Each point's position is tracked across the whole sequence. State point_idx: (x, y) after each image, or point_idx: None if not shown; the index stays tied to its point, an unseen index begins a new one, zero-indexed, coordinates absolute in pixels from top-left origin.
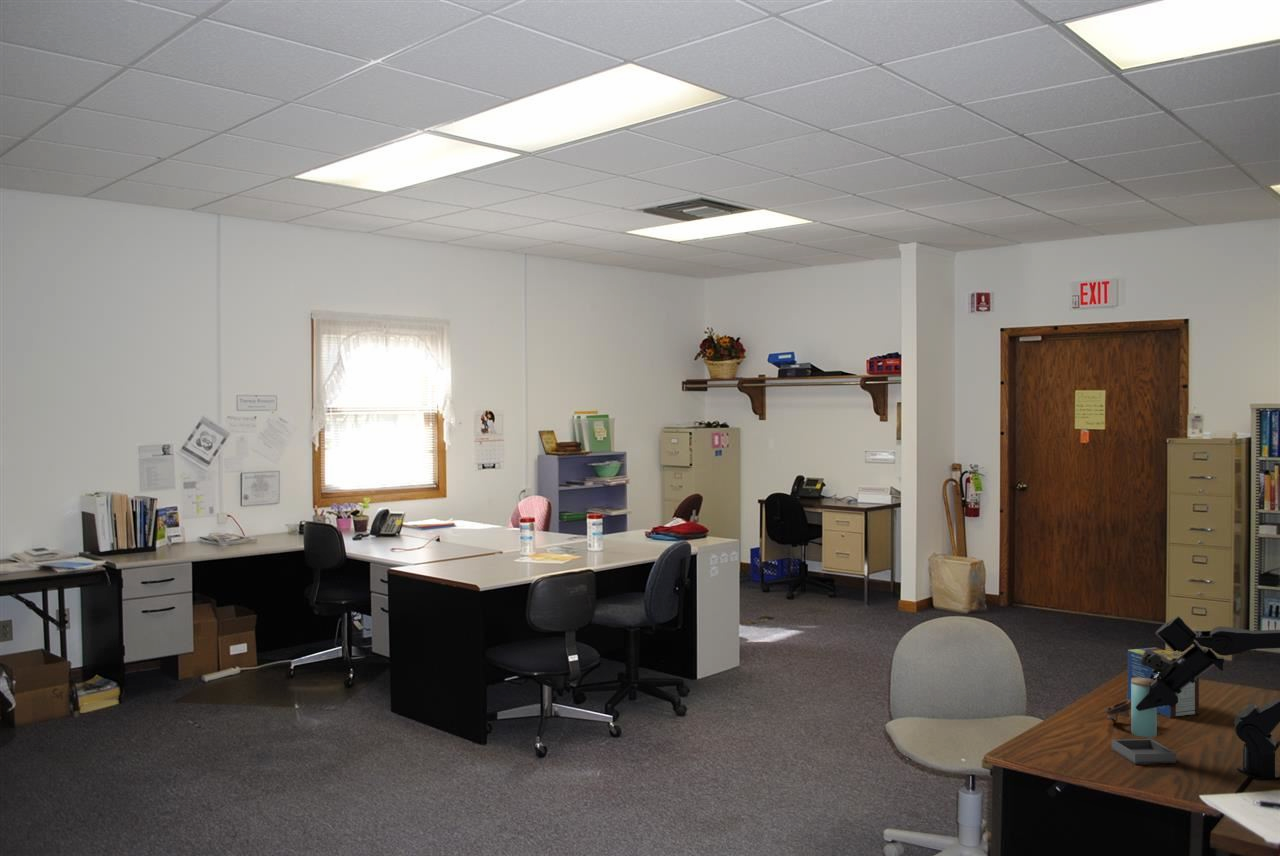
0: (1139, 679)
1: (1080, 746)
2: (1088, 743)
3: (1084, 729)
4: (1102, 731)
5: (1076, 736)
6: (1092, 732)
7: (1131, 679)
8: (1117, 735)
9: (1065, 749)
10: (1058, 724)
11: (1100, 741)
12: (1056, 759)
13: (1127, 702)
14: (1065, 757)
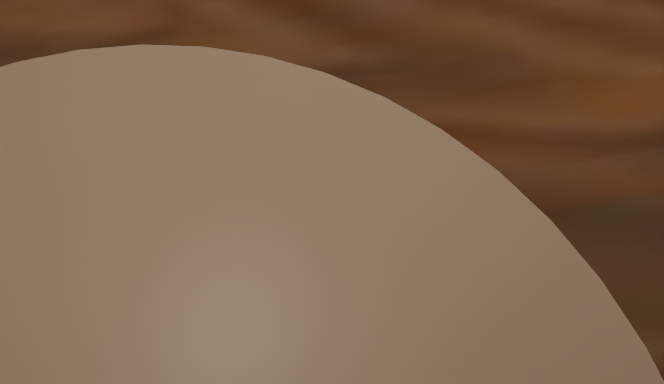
0: (173, 371)
1: (299, 57)
2: (378, 79)
3: (620, 16)
4: (659, 99)
5: (461, 9)
6: (597, 59)
7: (20, 71)
8: (646, 181)
9: (204, 10)
10: None
11: (458, 123)
12: (24, 9)
13: None
14: (76, 35)
